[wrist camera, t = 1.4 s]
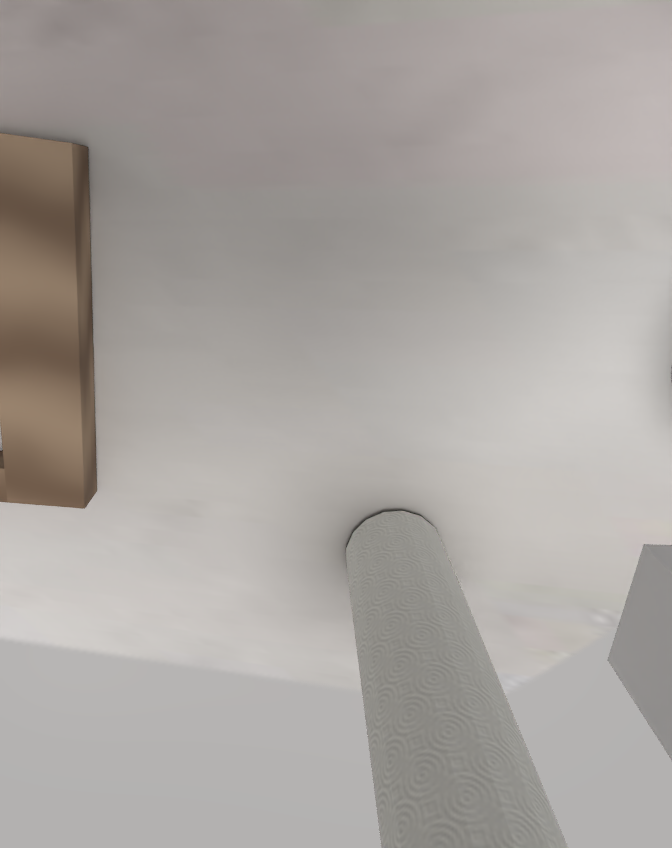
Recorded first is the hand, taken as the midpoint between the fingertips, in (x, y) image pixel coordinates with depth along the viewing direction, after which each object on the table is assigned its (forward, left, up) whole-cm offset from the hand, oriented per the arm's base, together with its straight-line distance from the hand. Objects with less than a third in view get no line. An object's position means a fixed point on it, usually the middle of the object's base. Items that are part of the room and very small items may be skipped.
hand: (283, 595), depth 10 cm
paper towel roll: (+13, +8, -22) cm, 26 cm away
